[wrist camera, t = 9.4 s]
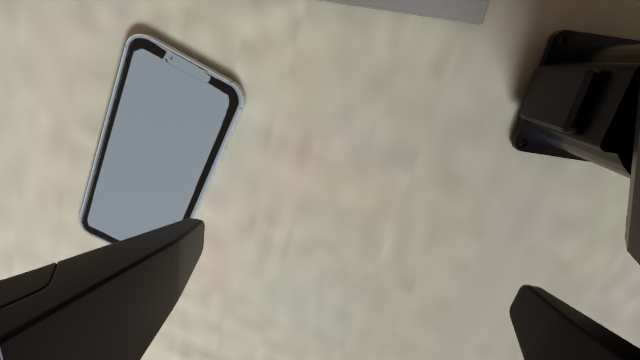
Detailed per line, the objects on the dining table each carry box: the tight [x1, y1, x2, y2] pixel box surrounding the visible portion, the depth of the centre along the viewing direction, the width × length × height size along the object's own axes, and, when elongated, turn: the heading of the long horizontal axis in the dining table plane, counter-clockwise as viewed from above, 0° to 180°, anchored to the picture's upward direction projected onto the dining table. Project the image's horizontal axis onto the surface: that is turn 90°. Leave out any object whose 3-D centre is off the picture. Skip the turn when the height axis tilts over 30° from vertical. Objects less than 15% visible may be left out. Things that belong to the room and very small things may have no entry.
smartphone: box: [79, 34, 246, 244], centre depth 21 cm, size 7×1×15 cm
